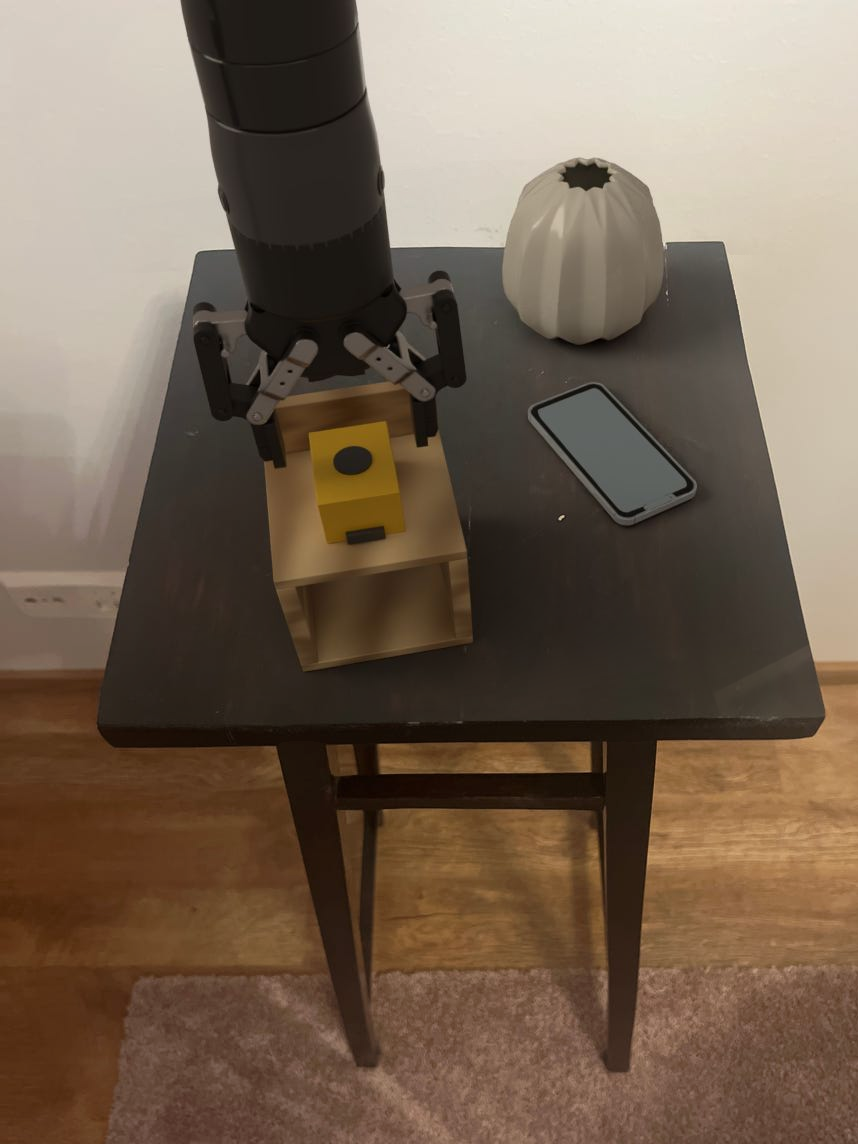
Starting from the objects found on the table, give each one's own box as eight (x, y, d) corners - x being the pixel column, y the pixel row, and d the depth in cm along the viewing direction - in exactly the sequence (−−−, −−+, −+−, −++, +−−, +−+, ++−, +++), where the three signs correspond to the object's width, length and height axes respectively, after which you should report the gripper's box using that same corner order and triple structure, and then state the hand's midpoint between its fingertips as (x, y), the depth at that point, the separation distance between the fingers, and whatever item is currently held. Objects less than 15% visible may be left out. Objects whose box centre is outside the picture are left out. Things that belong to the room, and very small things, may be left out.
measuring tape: (327, 549, 61) (317, 508, 58) (318, 472, 65) (307, 430, 62) (406, 536, 61) (400, 494, 58) (392, 461, 65) (386, 418, 62)
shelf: (303, 672, 68) (259, 539, 56) (291, 543, 74) (249, 401, 63) (473, 643, 69) (463, 506, 57) (445, 518, 75) (432, 374, 64)
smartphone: (598, 378, 83) (703, 488, 75) (597, 386, 84) (701, 495, 76) (522, 408, 81) (622, 523, 73) (522, 416, 82) (621, 531, 74)
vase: (531, 259, 94) (532, 119, 83) (672, 285, 91) (692, 144, 80) (482, 347, 87) (476, 206, 76) (633, 378, 84) (649, 236, 73)
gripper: (441, 135, 49) (456, 391, 62) (151, 169, 47) (230, 423, 61) (466, 217, 44) (477, 474, 57) (149, 258, 43) (234, 511, 56)
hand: (350, 448), depth 59 cm, fingers open, 8 cm apart
